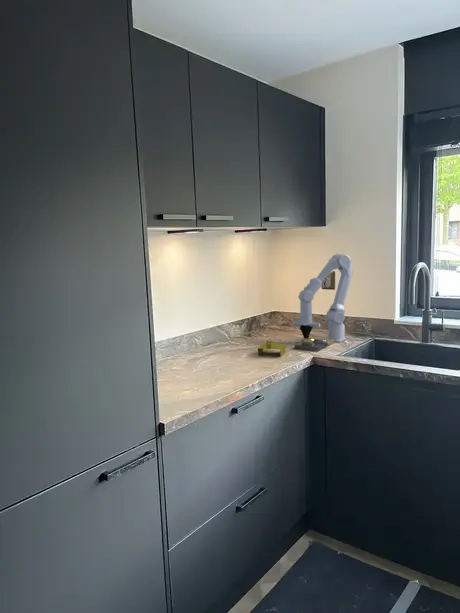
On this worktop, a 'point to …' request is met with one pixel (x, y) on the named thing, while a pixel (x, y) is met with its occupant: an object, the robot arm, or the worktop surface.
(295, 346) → the fixed leaf
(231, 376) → the worktop surface
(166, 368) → the worktop surface
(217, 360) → the worktop surface
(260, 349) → the bracket
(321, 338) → the brass plate
